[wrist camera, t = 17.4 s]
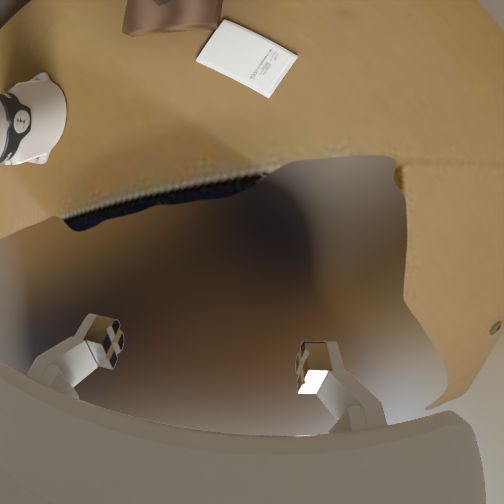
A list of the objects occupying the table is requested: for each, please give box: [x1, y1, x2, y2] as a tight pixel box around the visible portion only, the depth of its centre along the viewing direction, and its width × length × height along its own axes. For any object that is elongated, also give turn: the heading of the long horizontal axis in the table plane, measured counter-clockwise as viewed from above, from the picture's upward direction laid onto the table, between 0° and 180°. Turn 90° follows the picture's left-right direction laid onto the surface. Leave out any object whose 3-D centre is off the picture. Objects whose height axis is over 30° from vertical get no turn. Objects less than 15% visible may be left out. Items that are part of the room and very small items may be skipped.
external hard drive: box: [196, 19, 298, 98], centre depth 32 cm, size 2×8×12 cm
